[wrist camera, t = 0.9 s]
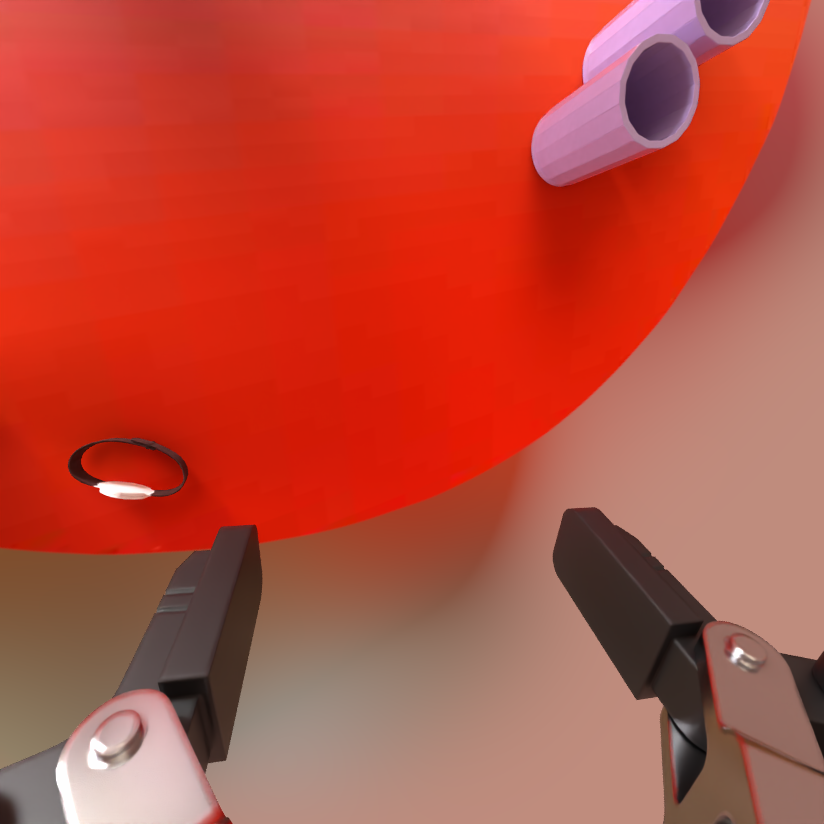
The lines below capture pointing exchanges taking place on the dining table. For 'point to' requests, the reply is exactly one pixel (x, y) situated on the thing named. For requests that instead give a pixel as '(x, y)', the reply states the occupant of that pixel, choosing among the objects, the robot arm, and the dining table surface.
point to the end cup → (619, 113)
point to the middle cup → (675, 28)
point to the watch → (124, 488)
